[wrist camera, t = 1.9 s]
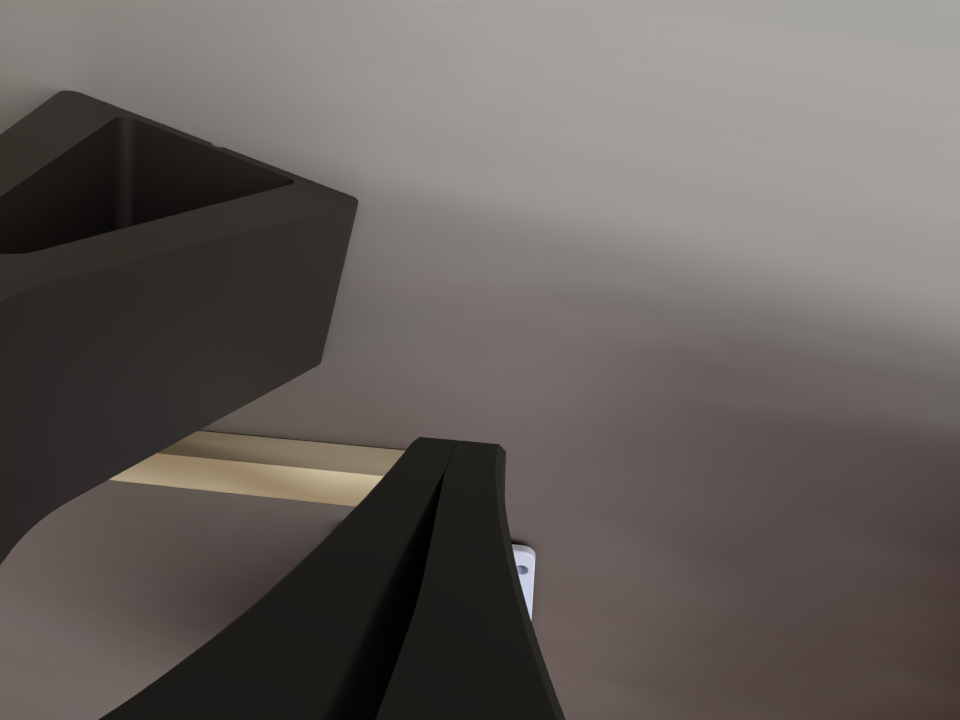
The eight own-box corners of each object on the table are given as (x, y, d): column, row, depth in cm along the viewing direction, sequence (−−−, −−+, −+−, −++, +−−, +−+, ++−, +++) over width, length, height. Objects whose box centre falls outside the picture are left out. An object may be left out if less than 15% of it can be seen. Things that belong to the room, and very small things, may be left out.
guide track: (434, 485, 24) (409, 568, 20) (-69, 434, 27) (-166, 499, 23) (402, -158, 14) (342, -206, 11) (-390, -133, 17) (-636, -163, 13)
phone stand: (74, 265, 21) (-400, 521, 11) (70, 87, 18) (-596, 213, 8) (324, 359, 22) (90, 687, 12) (362, 200, 19) (88, 458, 8)
